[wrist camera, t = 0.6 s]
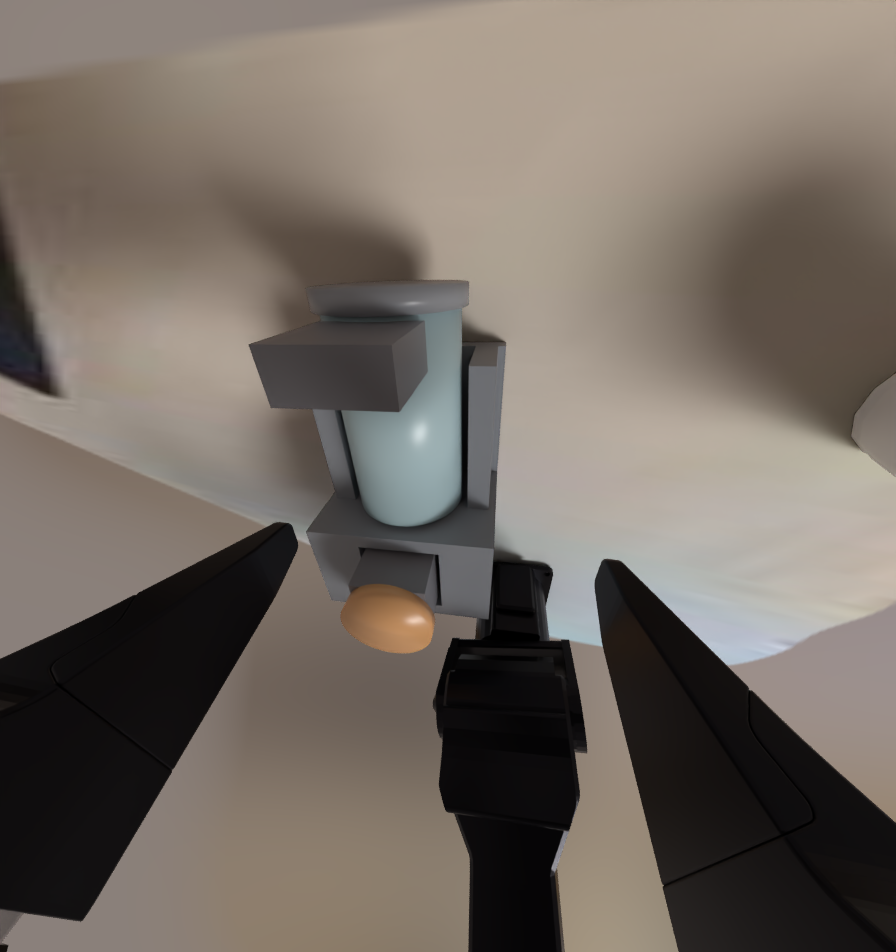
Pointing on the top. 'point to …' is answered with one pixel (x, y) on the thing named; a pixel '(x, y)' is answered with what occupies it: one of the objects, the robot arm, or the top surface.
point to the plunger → (393, 600)
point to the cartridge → (383, 387)
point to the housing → (450, 538)
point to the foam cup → (878, 425)
